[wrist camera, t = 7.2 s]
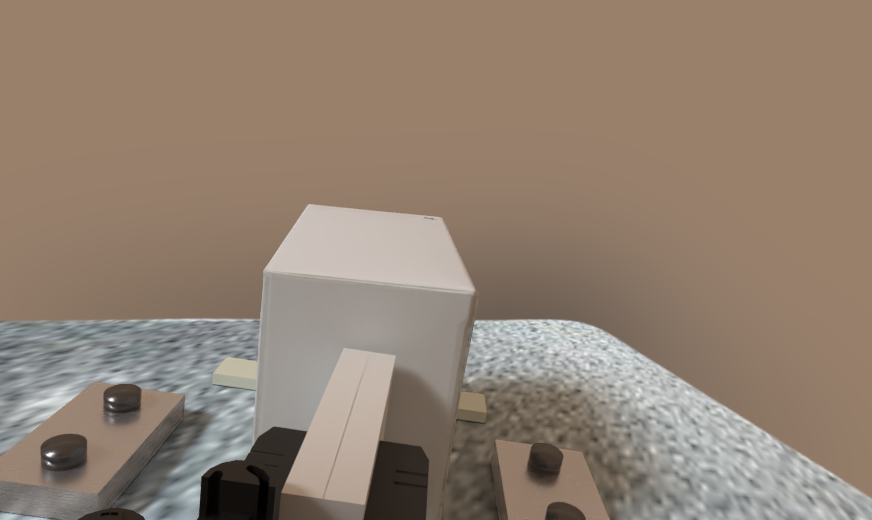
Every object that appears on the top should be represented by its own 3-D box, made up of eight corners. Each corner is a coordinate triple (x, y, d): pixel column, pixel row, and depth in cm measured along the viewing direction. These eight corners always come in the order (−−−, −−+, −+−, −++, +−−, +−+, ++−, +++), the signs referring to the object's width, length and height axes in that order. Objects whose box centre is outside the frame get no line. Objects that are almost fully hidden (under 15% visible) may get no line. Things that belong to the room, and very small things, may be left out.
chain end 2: (507, 579, 21) (516, 535, 20) (490, 462, 27) (497, 427, 27) (620, 595, 21) (633, 551, 20) (576, 474, 27) (584, 439, 27)
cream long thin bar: (212, 384, 30) (213, 373, 30) (226, 367, 32) (226, 357, 32) (485, 423, 31) (487, 412, 31) (482, 404, 33) (484, 394, 33)
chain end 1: (-24, 508, 20) (-26, 461, 20) (94, 406, 27) (94, 369, 26) (97, 524, 20) (97, 478, 20) (183, 419, 27) (185, 382, 26)
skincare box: (284, 412, 29) (305, 197, 26) (416, 424, 30) (450, 217, 27) (230, 581, 19) (256, 260, 16) (433, 593, 19) (490, 288, 17)
